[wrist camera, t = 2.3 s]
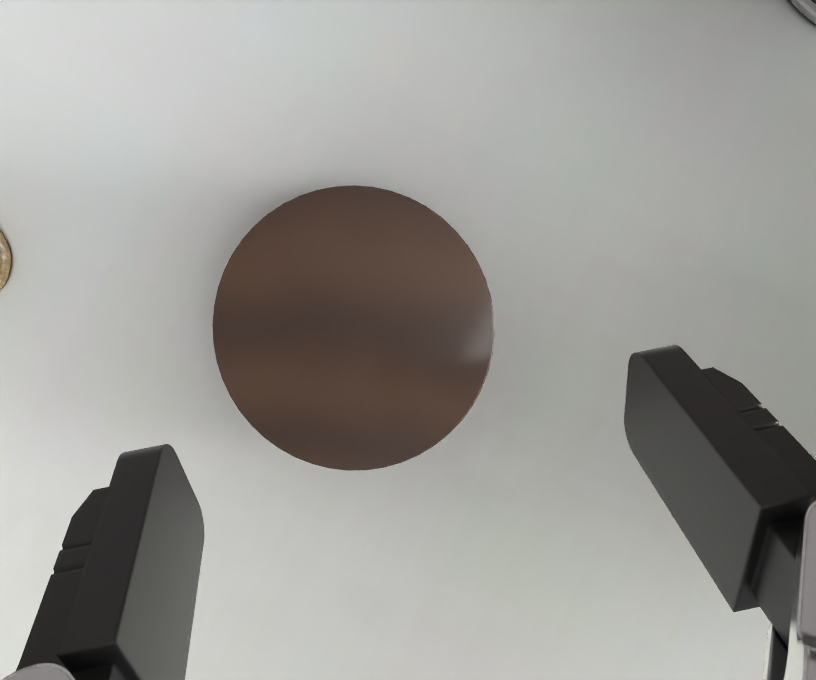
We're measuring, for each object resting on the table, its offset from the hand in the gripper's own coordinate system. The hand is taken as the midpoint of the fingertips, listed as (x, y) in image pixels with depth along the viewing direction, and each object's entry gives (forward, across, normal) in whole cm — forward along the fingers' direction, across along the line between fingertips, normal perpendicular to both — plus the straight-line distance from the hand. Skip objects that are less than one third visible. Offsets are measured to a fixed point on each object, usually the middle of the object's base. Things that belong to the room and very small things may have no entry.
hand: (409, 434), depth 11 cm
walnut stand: (+19, 0, +10) cm, 21 cm away
